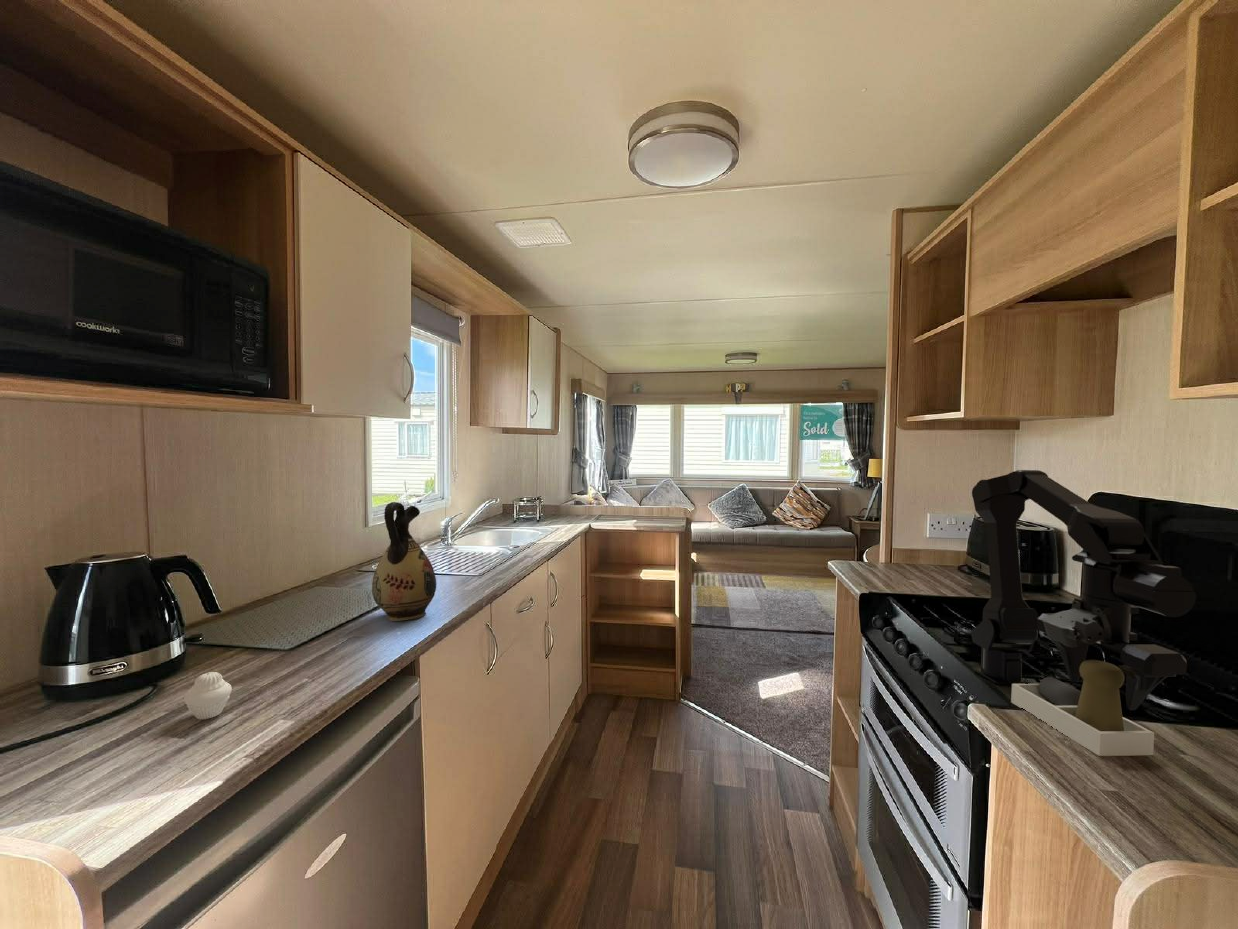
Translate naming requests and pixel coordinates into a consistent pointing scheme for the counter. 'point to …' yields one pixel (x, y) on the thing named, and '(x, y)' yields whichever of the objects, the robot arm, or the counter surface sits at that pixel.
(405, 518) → the ceramic jug
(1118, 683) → the cork
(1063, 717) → the slot tray
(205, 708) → the muffin
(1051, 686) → the dark grey cylinder
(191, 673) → the counter surface
